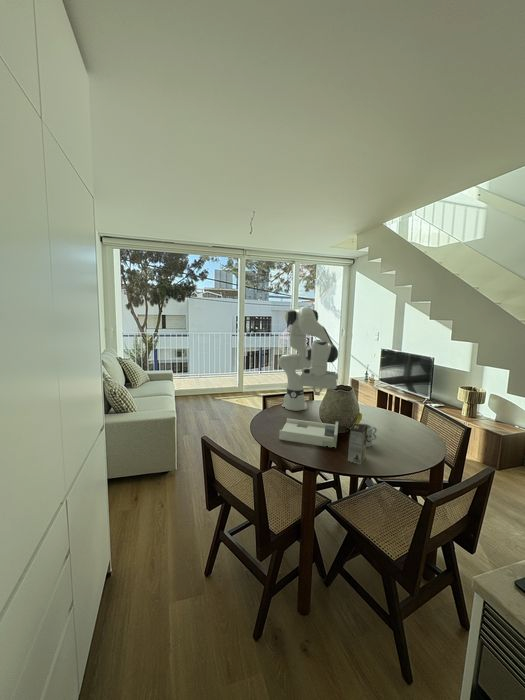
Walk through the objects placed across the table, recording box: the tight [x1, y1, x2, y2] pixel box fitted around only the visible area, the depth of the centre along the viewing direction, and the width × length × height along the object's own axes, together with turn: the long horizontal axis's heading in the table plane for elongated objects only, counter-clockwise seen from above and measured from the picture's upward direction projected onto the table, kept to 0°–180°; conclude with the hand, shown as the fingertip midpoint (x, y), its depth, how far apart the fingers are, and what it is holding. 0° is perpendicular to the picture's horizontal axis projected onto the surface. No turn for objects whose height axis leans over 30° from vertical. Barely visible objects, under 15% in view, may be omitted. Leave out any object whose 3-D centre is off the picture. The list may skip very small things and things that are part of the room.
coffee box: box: [347, 424, 368, 465], centre depth 144 cm, size 9×6×16 cm
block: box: [325, 425, 335, 437], centre depth 166 cm, size 5×5×4 cm
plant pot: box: [354, 411, 363, 424], centre depth 183 cm, size 10×10×10 cm
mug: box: [359, 422, 378, 448], centre depth 162 cm, size 12×9×10 cm
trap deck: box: [278, 417, 339, 449], centre depth 170 cm, size 20×30×7 cm, turn 74°
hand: (317, 395), depth 166 cm, fingers closed
